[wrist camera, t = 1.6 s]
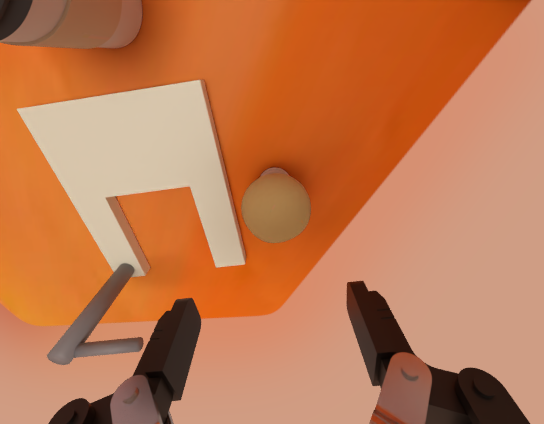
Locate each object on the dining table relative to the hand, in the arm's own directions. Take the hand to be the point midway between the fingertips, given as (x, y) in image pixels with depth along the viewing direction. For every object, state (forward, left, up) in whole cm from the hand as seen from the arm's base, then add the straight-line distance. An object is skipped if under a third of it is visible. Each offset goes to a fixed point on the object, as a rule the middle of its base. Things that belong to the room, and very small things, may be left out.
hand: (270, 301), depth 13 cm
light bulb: (-1, 0, -18) cm, 18 cm away
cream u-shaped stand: (+14, 0, -18) cm, 23 cm away
